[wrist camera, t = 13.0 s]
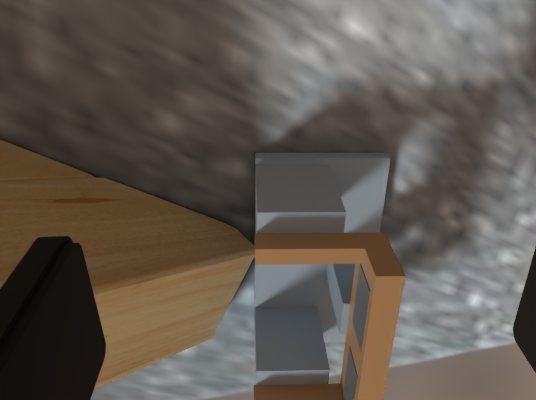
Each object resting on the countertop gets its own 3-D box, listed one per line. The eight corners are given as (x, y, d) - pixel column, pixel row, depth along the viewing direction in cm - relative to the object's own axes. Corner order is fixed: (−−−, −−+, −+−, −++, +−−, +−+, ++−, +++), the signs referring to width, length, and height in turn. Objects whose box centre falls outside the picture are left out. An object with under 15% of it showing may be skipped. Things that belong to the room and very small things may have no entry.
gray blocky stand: (386, 152, 41) (420, 204, 33) (361, 333, 50) (382, 407, 42) (255, 152, 40) (257, 204, 32) (254, 334, 50) (255, 409, 42)
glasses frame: (385, 232, 34) (406, 276, 29) (360, 393, 41) (374, 447, 37) (254, 233, 33) (255, 277, 29) (253, 395, 41) (254, 450, 37)
